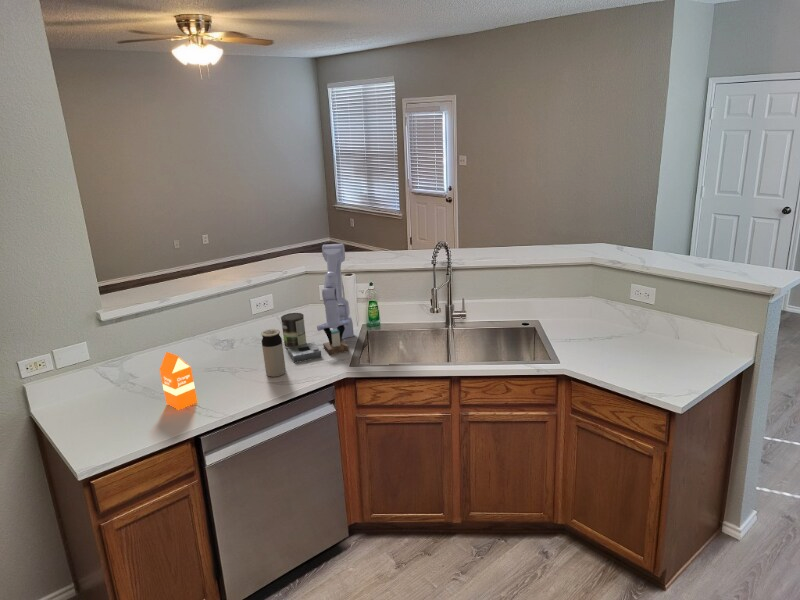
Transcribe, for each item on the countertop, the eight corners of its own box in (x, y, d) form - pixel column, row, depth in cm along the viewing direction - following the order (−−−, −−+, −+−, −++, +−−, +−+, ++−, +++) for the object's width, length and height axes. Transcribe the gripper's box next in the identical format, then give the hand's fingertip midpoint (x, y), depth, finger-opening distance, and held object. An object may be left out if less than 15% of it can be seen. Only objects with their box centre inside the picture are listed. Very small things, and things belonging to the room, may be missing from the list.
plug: (339, 347, 258) (337, 328, 256) (341, 350, 255) (339, 331, 252) (330, 349, 257) (328, 330, 254) (333, 352, 254) (331, 333, 251)
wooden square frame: (342, 344, 261) (342, 339, 261) (348, 351, 253) (348, 345, 253) (323, 348, 258) (323, 343, 258) (329, 355, 250) (328, 349, 250)
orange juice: (185, 396, 219) (175, 348, 213) (197, 402, 214) (188, 352, 208) (166, 404, 214) (156, 355, 208) (178, 411, 208) (168, 360, 202)
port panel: (314, 348, 259) (314, 341, 258) (321, 357, 249) (320, 350, 248) (288, 353, 255) (287, 346, 254) (294, 362, 245) (293, 355, 244)
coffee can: (287, 350, 259) (283, 321, 254) (282, 343, 268) (278, 315, 264) (309, 346, 263) (306, 317, 258) (303, 339, 272) (300, 311, 268)
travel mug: (275, 378, 230) (269, 336, 225) (262, 374, 235) (256, 333, 229) (290, 371, 236) (284, 330, 231) (277, 367, 241) (271, 327, 235)
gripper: (318, 319, 245) (321, 348, 249) (350, 313, 250) (353, 342, 254) (314, 314, 251) (317, 343, 255) (346, 309, 256) (348, 337, 260)
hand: (335, 342), depth 255 cm, fingers closed on plug, 4 cm apart
